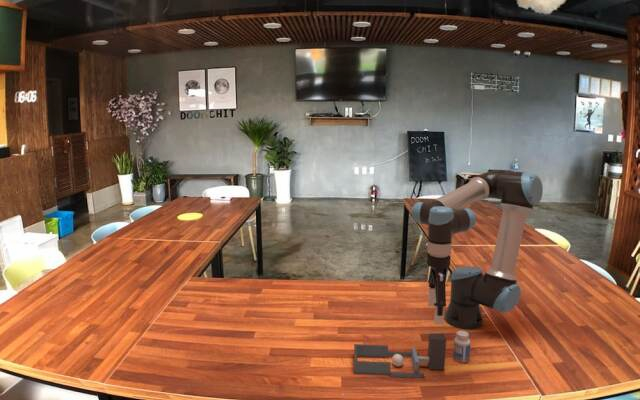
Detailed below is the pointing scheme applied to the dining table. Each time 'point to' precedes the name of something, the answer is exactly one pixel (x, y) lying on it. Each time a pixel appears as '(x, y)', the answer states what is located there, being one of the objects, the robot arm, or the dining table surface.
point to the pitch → (379, 367)
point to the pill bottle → (462, 347)
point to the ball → (397, 360)
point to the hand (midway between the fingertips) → (435, 314)
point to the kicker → (432, 353)
